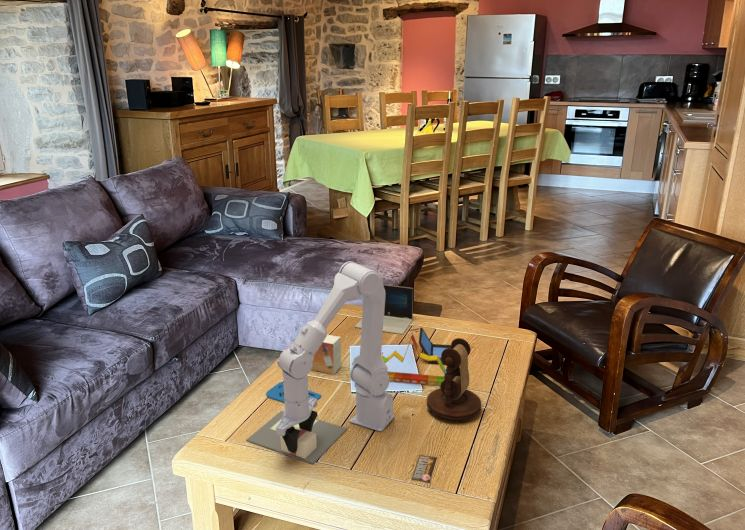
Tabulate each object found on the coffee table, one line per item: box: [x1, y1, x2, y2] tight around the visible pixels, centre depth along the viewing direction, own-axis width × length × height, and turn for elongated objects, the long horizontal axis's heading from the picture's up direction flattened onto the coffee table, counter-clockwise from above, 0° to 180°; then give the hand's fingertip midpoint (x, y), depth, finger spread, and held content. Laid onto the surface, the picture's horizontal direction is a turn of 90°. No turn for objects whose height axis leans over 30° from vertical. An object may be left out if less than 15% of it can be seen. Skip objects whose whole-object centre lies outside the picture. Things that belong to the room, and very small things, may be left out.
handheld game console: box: [418, 327, 451, 366], centre depth 196 cm, size 12×11×7 cm
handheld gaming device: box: [265, 381, 322, 404], centre depth 174 cm, size 8×1×15 cm
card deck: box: [281, 427, 317, 459], centre depth 149 cm, size 7×5×4 cm
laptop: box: [354, 284, 414, 335], centre depth 217 cm, size 18×12×13 cm
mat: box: [245, 409, 348, 465], centre depth 156 cm, size 20×16×1 cm
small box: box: [311, 334, 342, 375], centre depth 187 cm, size 8×6×10 cm
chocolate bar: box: [410, 454, 438, 484], centre depth 143 cm, size 11×5×1 cm, turn 164°
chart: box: [351, 334, 447, 387], centre depth 179 cm, size 30×3×15 cm, turn 79°
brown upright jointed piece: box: [426, 337, 482, 424], centre depth 164 cm, size 15×15×20 cm
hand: (298, 444), depth 149 cm, fingers closed on card deck, 5 cm apart
